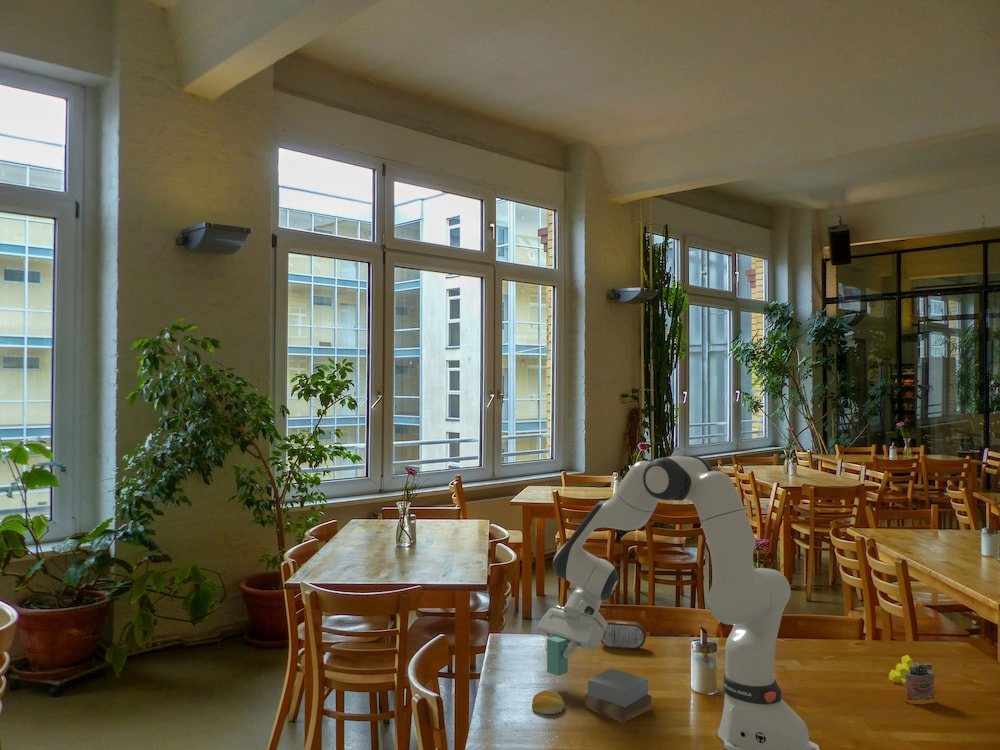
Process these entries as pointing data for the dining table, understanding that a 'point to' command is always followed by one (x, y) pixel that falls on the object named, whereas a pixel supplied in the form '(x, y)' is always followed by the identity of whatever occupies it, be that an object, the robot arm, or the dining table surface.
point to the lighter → (920, 682)
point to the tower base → (618, 708)
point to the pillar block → (556, 655)
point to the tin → (623, 634)
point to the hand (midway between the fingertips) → (555, 654)
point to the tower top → (618, 687)
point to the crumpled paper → (901, 670)
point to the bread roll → (547, 702)
